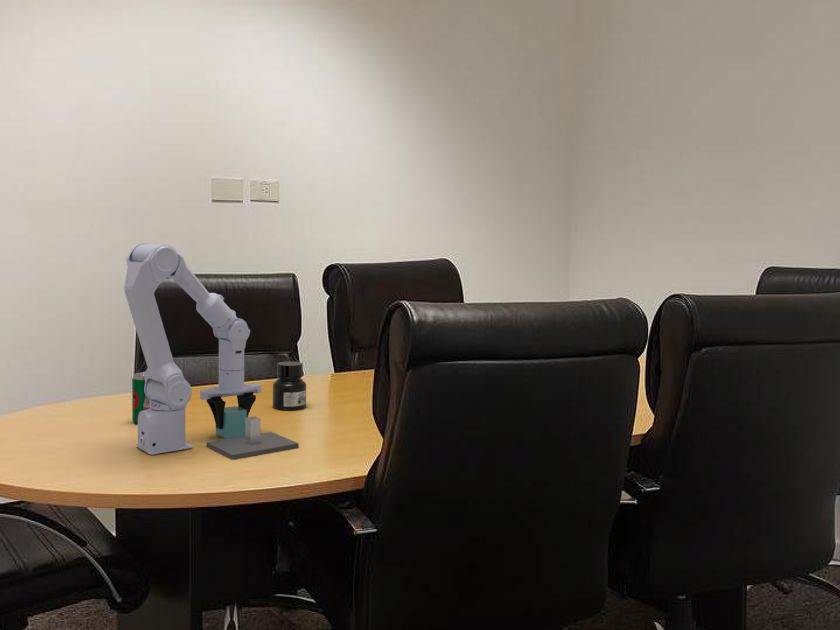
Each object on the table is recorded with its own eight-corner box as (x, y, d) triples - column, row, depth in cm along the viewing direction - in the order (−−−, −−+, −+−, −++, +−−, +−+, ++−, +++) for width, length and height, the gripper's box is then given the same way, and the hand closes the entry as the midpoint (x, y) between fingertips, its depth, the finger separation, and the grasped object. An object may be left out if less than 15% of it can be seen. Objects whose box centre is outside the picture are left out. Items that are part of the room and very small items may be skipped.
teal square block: (226, 438, 178) (226, 413, 177) (215, 433, 182) (215, 408, 181) (246, 435, 181) (246, 410, 181) (235, 430, 185) (236, 405, 185)
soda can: (147, 425, 187) (146, 376, 186) (128, 424, 188) (127, 375, 187) (158, 420, 192) (158, 372, 191) (139, 419, 193) (139, 371, 192)
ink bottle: (289, 413, 205) (290, 367, 204) (264, 408, 209) (265, 363, 208) (313, 406, 213) (314, 363, 212) (288, 402, 218) (289, 359, 216)
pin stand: (232, 459, 162) (232, 429, 161) (206, 446, 171) (206, 417, 170) (298, 447, 173) (298, 418, 172) (270, 435, 182) (271, 408, 181)
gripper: (251, 363, 188) (250, 419, 189) (194, 369, 178) (194, 427, 180) (266, 368, 182) (265, 425, 184) (208, 373, 173) (207, 434, 174)
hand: (231, 426), depth 181 cm, fingers closed on teal square block, 5 cm apart
